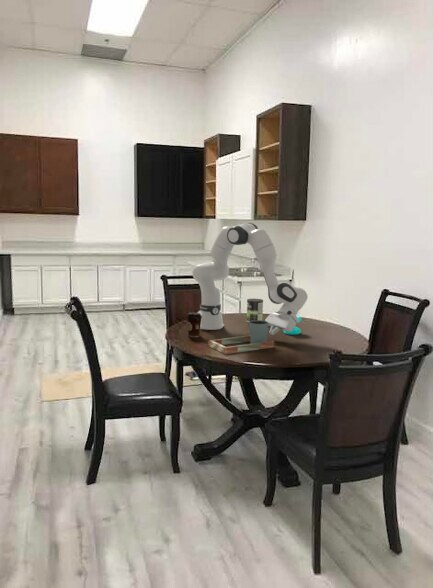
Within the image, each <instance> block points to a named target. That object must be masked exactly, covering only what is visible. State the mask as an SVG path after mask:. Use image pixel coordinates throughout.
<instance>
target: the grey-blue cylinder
mask: <svg viewBox="0 0 433 588" xmlns="http://www.w3.org/2000/svg"><path fill="white" fill-rule="evenodd" d="M248 326H249V335H250V341H249V344H253V343H260V342H267V341H268V334H269V331H268V330H269V329H268V328H269V326H268V322H267V321H265V320H263V319H262V320H254V321H249V322H248Z"/></svg>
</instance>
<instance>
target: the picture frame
mask: <svg viewBox="0 0 433 588" xmlns="http://www.w3.org/2000/svg"><path fill="white" fill-rule="evenodd" d="M247 342H249V343H247ZM241 343H247V344H241ZM232 344H239V345H232ZM207 345H208V347H210V348H211V349H213V350H216V351H218V352H220V353H223V354H224V355H230V354H236V353H237V354H238V353H243V352H251V351H256V350H257V351H258V350H263V349H264V350H265V349H271V348H274V347H275V341H274V340H270V341H268V340H267V342H260V343H253V344H250V334H249V335H243V336H241V335H239V336H233V337H226V338H225V337H224V338H218V339H217V338H216V339H210V340H208V344H207ZM225 345H232V346H225Z"/></svg>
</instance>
